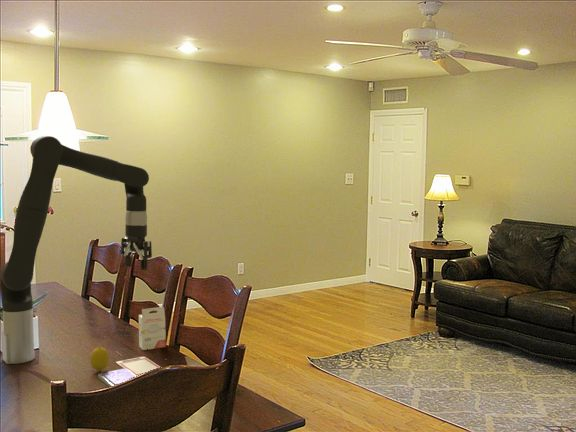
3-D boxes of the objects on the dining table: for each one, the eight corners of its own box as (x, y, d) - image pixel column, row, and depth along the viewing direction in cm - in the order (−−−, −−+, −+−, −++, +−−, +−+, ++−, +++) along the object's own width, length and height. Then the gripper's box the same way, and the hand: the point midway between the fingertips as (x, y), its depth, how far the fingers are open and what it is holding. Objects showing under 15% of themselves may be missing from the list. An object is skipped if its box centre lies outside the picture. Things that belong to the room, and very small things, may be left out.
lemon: (99, 375, 196) (98, 350, 195) (87, 372, 198) (86, 347, 198) (112, 370, 200) (112, 345, 199) (100, 367, 203) (100, 342, 202)
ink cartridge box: (162, 343, 229) (161, 303, 227) (166, 347, 224) (165, 306, 223) (138, 346, 225) (138, 306, 223) (142, 350, 221) (141, 309, 219)
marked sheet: (137, 378, 193) (137, 377, 193) (115, 362, 207) (115, 361, 207) (167, 372, 199) (167, 371, 199) (144, 357, 213) (144, 356, 213)
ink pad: (114, 390, 183) (113, 385, 183) (98, 377, 193) (98, 372, 193) (143, 384, 188) (143, 379, 188) (126, 372, 199) (126, 367, 199)
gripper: (115, 222, 227) (115, 267, 228) (140, 225, 218) (140, 272, 219) (132, 221, 233) (131, 264, 234) (157, 224, 224) (157, 269, 225)
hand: (136, 268), depth 227 cm, fingers open, 8 cm apart
